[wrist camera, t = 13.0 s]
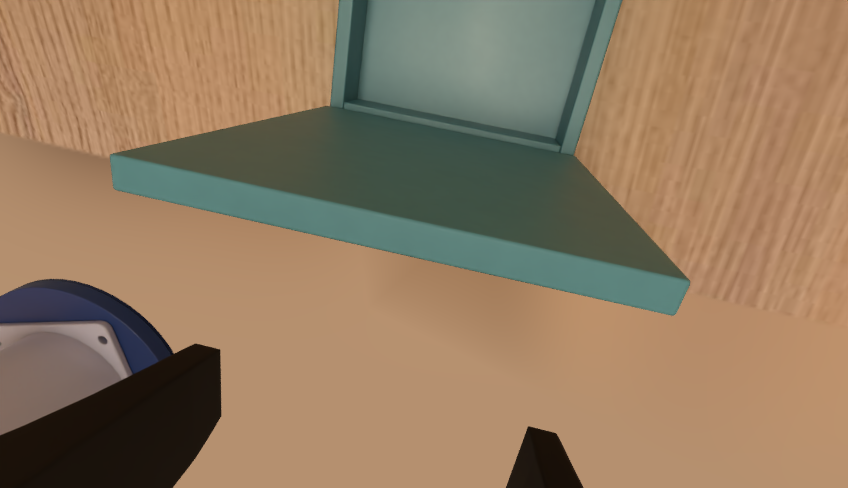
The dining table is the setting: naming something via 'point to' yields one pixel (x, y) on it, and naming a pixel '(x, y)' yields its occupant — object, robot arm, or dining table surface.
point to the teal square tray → (475, 65)
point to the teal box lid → (416, 199)
